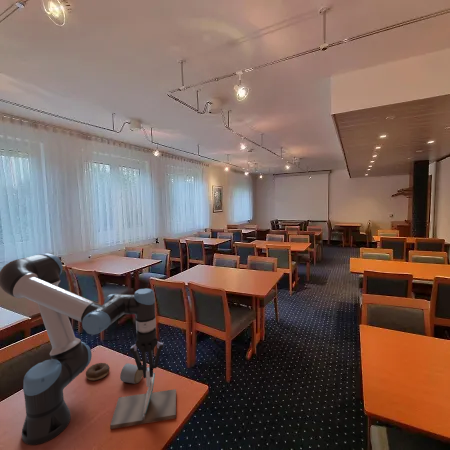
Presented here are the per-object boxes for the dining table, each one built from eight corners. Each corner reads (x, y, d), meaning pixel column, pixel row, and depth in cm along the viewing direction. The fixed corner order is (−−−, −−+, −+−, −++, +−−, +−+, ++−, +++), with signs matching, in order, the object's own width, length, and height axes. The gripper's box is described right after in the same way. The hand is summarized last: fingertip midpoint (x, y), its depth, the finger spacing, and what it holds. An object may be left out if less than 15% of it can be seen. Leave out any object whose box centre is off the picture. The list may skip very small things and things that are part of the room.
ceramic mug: (135, 387, 118) (135, 371, 117) (120, 385, 119) (119, 369, 119) (148, 373, 128) (147, 358, 127) (133, 370, 130) (132, 356, 129)
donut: (80, 379, 124) (80, 371, 124) (98, 366, 134) (97, 359, 134) (97, 384, 120) (97, 376, 120) (114, 370, 130) (114, 363, 130)
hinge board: (110, 429, 96) (110, 422, 96) (118, 400, 110) (118, 395, 110) (175, 418, 101) (175, 412, 100) (176, 392, 114) (175, 386, 114)
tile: (150, 389, 100) (152, 389, 100) (152, 372, 110) (155, 373, 110) (143, 413, 100) (145, 413, 100) (146, 394, 110) (148, 395, 110)
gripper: (127, 334, 98) (130, 393, 100) (162, 331, 100) (164, 388, 102) (130, 325, 105) (133, 380, 107) (163, 322, 107) (165, 376, 109)
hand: (148, 384), depth 104 cm, fingers closed
